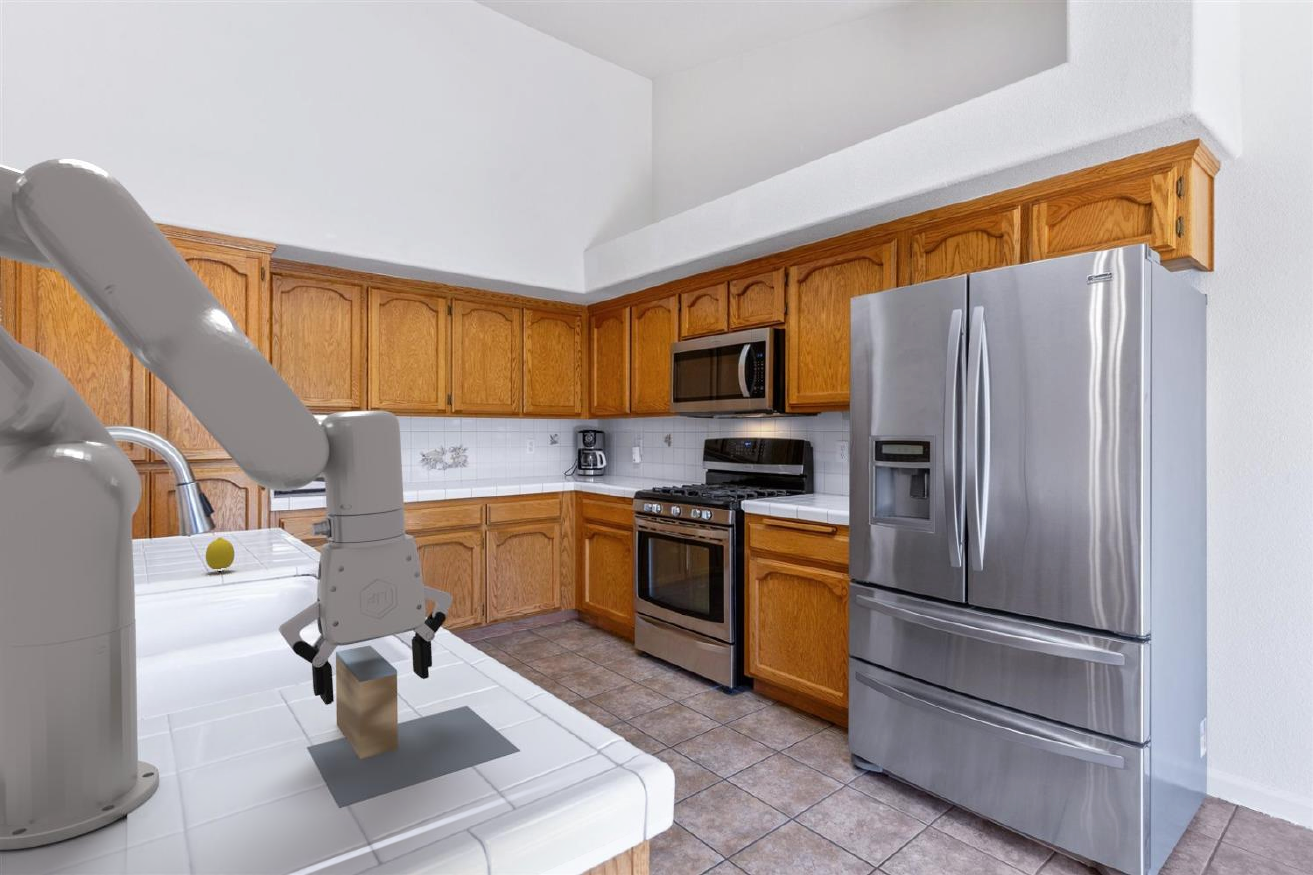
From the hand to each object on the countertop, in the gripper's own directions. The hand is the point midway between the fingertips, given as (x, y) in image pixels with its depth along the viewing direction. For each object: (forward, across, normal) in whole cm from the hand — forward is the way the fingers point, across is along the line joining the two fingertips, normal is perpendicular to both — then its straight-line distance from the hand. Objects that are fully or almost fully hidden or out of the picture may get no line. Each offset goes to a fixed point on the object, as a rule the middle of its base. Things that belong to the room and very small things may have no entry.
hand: (375, 687), depth 73 cm
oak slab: (+5, -1, 0) cm, 5 cm away
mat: (+6, +2, -6) cm, 8 cm away
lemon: (+5, -5, +108) cm, 108 cm away
